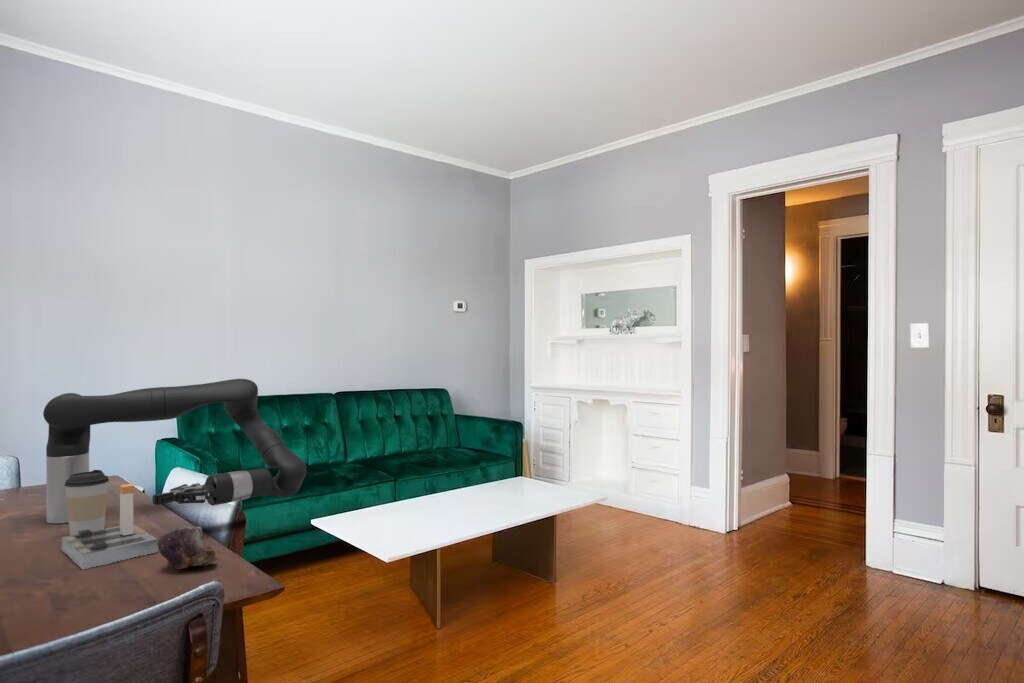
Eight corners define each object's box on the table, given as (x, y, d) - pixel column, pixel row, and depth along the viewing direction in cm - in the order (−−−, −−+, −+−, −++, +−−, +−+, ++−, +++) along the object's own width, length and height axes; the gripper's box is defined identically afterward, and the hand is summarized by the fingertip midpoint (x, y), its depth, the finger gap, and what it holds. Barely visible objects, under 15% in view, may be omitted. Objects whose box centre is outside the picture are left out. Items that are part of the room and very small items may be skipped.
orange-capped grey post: (119, 533, 140) (119, 485, 140) (130, 531, 142) (130, 483, 142) (123, 535, 138) (122, 487, 139) (133, 533, 140) (133, 485, 140)
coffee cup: (86, 540, 145) (86, 477, 145) (54, 538, 147) (54, 475, 147) (118, 529, 154) (118, 469, 154) (87, 527, 156) (87, 468, 156)
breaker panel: (61, 550, 139) (61, 532, 139) (132, 535, 149) (132, 519, 149) (82, 569, 126) (82, 550, 126) (157, 552, 137) (157, 534, 137)
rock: (202, 560, 135) (150, 571, 128) (200, 520, 136) (149, 528, 129) (222, 565, 127) (168, 576, 120) (220, 522, 128) (167, 531, 121)
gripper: (240, 506, 152) (163, 521, 139) (218, 497, 161) (144, 511, 148) (240, 476, 152) (163, 488, 139) (218, 469, 161) (144, 479, 148)
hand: (153, 500), depth 144 cm, fingers closed
